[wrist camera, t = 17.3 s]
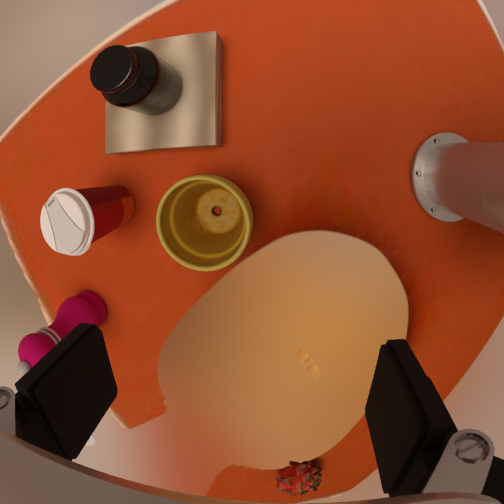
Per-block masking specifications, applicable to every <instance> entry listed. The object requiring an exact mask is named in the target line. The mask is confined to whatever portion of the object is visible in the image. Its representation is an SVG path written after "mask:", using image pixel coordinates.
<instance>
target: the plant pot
mask: <svg viewBox="0 0 504 504" xmlns="http://www.w3.org/2000/svg"><path fill="white" fill-rule="evenodd" d="M216 206H218V207H220V208H221V210H222V213H221V215H219V216H217V215H215V214H214V213H213V208H214V207H216ZM252 227H253V214H252V209H251V206H250V203H249V201H248V199H247V197H246V196H245V194H244V193H243V192H242V190H241V189H240V188H239V187H238V186H237V185H235V184H234V183H233V182H231V181H230V180H228V179H226V178H223V177H221V176H217V175H211V174H201V175H194V176H190V177H186V178H184V179H182V180H180V181H178V182H176V183H175V184H174V185H172V186H171V187H170V188H169V189H168V190H167V191H166V193H165V194H164V195H163V197H162V199H161V201H160V203H159V206H158V209H157V214H156V228H157V233H158V236H159V239H160V241H161V243H162V245H163V247H164V249H165V250H166V251H167V253H168V254H169V255H170V256H171V257H172V258H173V259H174V260H175V261H177V262H178V263H180V264H181V265H183V266H185V267H187V268H190V269H193V270H197V271H214V270H219V269H222V268H224V267H226V266H228V265H230V264H231V263H233V262H234V261H235V260H236V259H237V258H238V257H239V256H240V255H241V254H242V252H243V251H244V249H245V247H246V246H247V243H248V241H249V239H250V236H251V232H252Z"/></svg>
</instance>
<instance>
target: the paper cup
mask: <svg viewBox="0 0 504 504" xmlns="http://www.w3.org/2000/svg"><path fill="white" fill-rule="evenodd" d="M134 211H135V201H134V198H133V195H132V194H131V192H130V191H129V190H128V189H126V188H124V187H121V186H108V187H97V188H86V189H77V190H74V189H70V188H63V189H60V190H57V191H56V192H54V193H53V194H52V195H51V197H50V198H49V200H48V201H47V203H45V204H44V206H43V208H42V212H41V219H40V222H41V230H42V233H43V236H44V238H45V240H46V242H47V243H48V245H49V246H50V247H51V248H52V249H53V250H55V251H56V252H59V253H64V254H67V255H81V254H83V253H84V252H86V251H87V250H88V248H89V247H90V244H92V243H93V242H95V241H96V240H98V239H100V238H101V237H103V236H105V235H106V234H108V233H110V232H111V231H113V230H114V229H116V228H118V227H119V226H121V225H123V224H124V223H126V222H127V221H128V220H129V219H130V218H131V217H132V216H133V214H134Z"/></svg>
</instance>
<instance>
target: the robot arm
mask: <svg viewBox="0 0 504 504" xmlns="http://www.w3.org/2000/svg"><path fill="white" fill-rule="evenodd" d="M434 140H435V142H434ZM416 171H417V175H416ZM411 184H412V188H413V192H414V195H415V197H416V199H417V201H418V203H419V204H420V206H421V207H422V208H423V209H424V210H425V212H426V213H428V214H429V215H430V216H432V217H434V218H436V219H438V220H441V221H444V222H455V221H459V220H462V219H464V218H466V219H468V220H471V221H473V222H476V223H478V224H481V225H483V226H486V227H488V228H490V229H493V230H495V231H497V232H500V233H502V234H504V142H469V141H468V140H466V139H465V138H464V137H462V136H460V135H458V134H455V133H449V132H443V133H438V134H434V135H432V136H430V137H428V138H427V139H426V140H425V141H423V142H422V143H421V145H420V146H419V148H418V149H417V151H416V153H415V155H414V157H413V161H412V165H411ZM431 208H432V210H431ZM15 386H16V389H17V391H18V392H17V393H16V394H15V393H14V392H13V390H11V389H10V388H8V387H4V386H3V387H0V504H286V503H260V502H246V501H236V500H226V499H218V498H211V497H204V496H197V495H191V494H185V493H180V492H174V491H170V490H165V489H161V488H157V487H152V486H148V485H144V484H140V483H136V482H133V481H129V480H126V479H122V478H119V477H115V476H112V475H109V474H106V473H103V472H100V471H97V470H94V469H91V468H88V467H85V466H83V465H80V464H77V463H75V462H72V459H76V458H77V457H78V455H79V454H80V452H81V450H82V449H83V447H84V446H85V444H86V442H87V441H88V439H89V438H90V436H91V435H92V433H93V432H94V430H95V428H96V427H97V425H98V424H99V422H100V421H101V419H102V418H103V416H104V415H105V413H106V411H107V410H108V408H109V407H110V405H111V404H112V402H113V401H114V399H115V398H116V396H117V385H116V382H115V379H114V375H113V372H112V368H111V365H110V361H109V357H108V353H107V350H106V346H105V342H104V337H103V333H102V331H101V330H100V329H99V328H98V326H97V325H96V324H90V323H84V322H81V323H80V324H79V325H77V326H76V327H75V328H74V329H73V330H72V331H71V332H70V333H69V334H67V335H66V336H65V337H64V338H63V339H62V340H61V341H60V342H59V343H58V344H56V345H55V346H54V347H53V348H52V349H51V350H50V351H49V352H48V353H47V354H46V355H45V356H44V357H42V358H41V359H40V360H39V361H38V362H37V363H36V364H35V365H34V366H33V367H32V368H31V369H30V370H29V371H28V372H27V373H26V374H25V375H24V376H23V377H22V378H21V379H19V381H17V382H16V383H15ZM365 415H366V420H367V423H368V427H369V431H370V436H371V440H372V444H373V448H374V452H375V457H376V461H377V465H378V470H379V474H380V479H381V484H382V489H383V492H384V493H385V494H386V493H389V497H388V498H381V499H372V500H362V501H352V502H337V503H336V502H335V503H309V504H504V460H503V459H500V458H498V457H495V456H494V445H493V442H492V441H491V439H490V438H489V437H488V436H487V435H486V434H485V433H483V432H481V431H478V430H474V429H463V430H460V431H458V430H457V428H456V426H455V424H454V422H453V420H452V418H451V417H450V414H449V412H448V410H447V409H446V407H445V405H444V403H443V401H442V399H441V397H440V396H439V394H438V392H437V390H436V388H435V386H434V385H433V383H432V381H431V379H430V378H429V377H427V376H426V374H425V372H424V371H423V369H422V367H421V365H420V364H419V362H418V360H417V358H416V357H415V355H414V353H413V351H412V350H411V348H410V346H409V345H408V343H407V341H406V340H405V339H397V340H388V341H387V343H386V344H384V345H381V348H380V352H379V356H378V360H377V365H376V369H375V373H374V377H373V381H372V385H371V389H370V392H369V396H368V400H367V403H366V407H365Z"/></svg>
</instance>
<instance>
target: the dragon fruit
mask: <svg viewBox="0 0 504 504" xmlns="http://www.w3.org/2000/svg"><path fill="white" fill-rule="evenodd" d="M313 463H314V465H316V462H314V461H310V462H307V461H304V462H302V463H298V462H291V461H290V463H289V464H291V466H288V467H285V468H284V469H283V470H282V471H281V473H280V474H279V476H278V477H277V478H276V480H277V487H278V488H279V490H280V491H281V492H283V493H288V494H289V495H290V496H294V495H295V496H296V495H298V494H299V493H300V494H301V495H304V494H307V491H309V490H310V491H316V490H317V486H319V485H320V484H319V483H320V482H321V480H322V479H321V476H322V475H321V473H320V471H322V470H321V468H319V467H313Z"/></svg>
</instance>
